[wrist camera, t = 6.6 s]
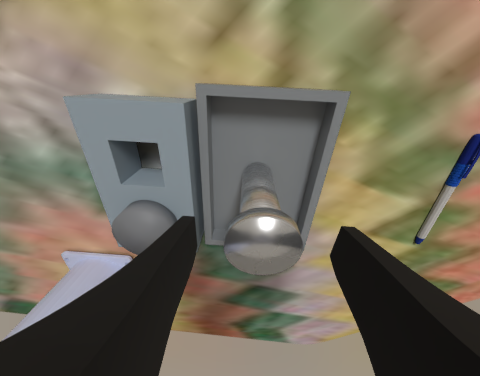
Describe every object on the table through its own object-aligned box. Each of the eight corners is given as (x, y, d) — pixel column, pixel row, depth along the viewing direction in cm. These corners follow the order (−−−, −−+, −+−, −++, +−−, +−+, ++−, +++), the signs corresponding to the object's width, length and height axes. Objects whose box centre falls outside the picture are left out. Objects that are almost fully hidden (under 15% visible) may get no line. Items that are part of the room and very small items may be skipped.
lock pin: (276, 196, 16) (295, 277, 10) (234, 193, 16) (224, 272, 10) (282, 156, 15) (311, 221, 8) (235, 153, 15) (223, 216, 8)
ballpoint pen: (466, 133, 14) (481, 136, 13) (479, 132, 14) (495, 136, 13) (411, 240, 19) (419, 247, 18) (420, 239, 19) (429, 247, 18)
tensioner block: (204, 229, 19) (192, 266, 15) (136, 224, 19) (107, 260, 15) (196, 99, 13) (174, 106, 9) (99, 93, 14) (37, 98, 10)
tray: (298, 235, 19) (303, 251, 17) (209, 229, 19) (205, 244, 17) (337, 90, 13) (350, 91, 11) (203, 83, 13) (195, 83, 11)
